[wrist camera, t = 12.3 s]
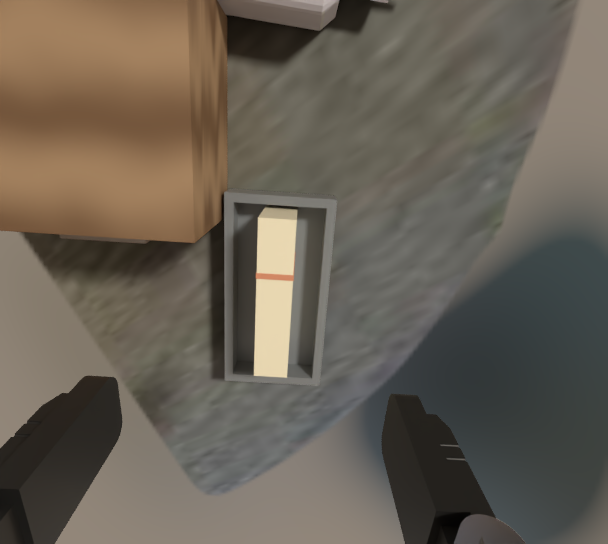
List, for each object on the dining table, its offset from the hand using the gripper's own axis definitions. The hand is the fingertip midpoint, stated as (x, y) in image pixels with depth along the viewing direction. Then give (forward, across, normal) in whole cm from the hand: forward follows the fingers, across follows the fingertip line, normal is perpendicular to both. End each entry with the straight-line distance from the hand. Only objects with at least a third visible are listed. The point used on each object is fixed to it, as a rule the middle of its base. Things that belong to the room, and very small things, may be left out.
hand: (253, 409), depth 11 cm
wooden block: (+21, +11, -8) cm, 25 cm away
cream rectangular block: (+20, 0, +4) cm, 21 cm away
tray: (+21, 0, +5) cm, 21 cm away
